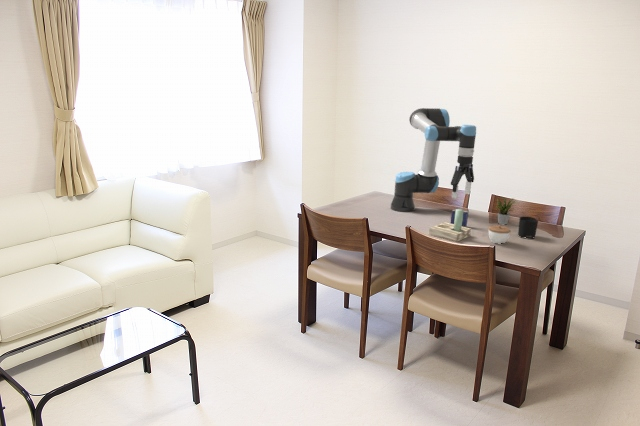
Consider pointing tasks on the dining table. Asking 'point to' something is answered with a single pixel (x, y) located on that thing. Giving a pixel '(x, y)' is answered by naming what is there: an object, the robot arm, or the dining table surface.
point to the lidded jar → (499, 233)
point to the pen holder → (527, 227)
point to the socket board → (449, 232)
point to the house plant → (504, 211)
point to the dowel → (458, 220)
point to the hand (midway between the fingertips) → (460, 196)
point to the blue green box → (465, 217)
